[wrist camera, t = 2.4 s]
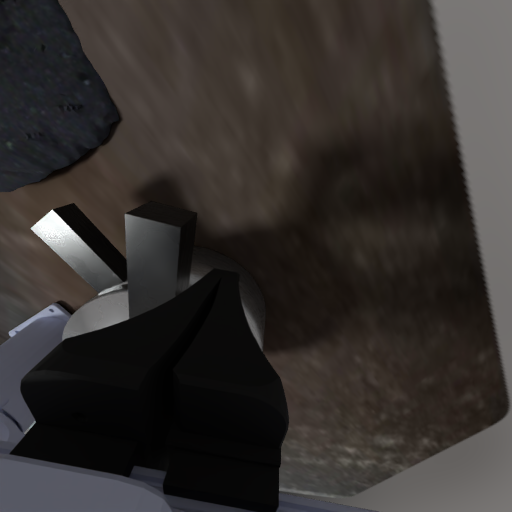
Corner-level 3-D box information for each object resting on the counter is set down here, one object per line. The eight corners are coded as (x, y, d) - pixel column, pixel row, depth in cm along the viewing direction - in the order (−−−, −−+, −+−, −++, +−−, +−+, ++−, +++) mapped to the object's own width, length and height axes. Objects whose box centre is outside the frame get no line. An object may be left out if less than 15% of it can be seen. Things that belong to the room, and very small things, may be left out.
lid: (243, 431, 21) (237, 477, 18) (87, 395, 21) (56, 435, 18) (321, 236, 12) (334, 266, 9) (41, 164, 11) (-36, 173, 9)
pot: (291, 331, 23) (294, 388, 18) (188, 369, 28) (166, 424, 22) (162, 149, 17) (106, 155, 11) (52, 238, 21) (-25, 272, 16)
